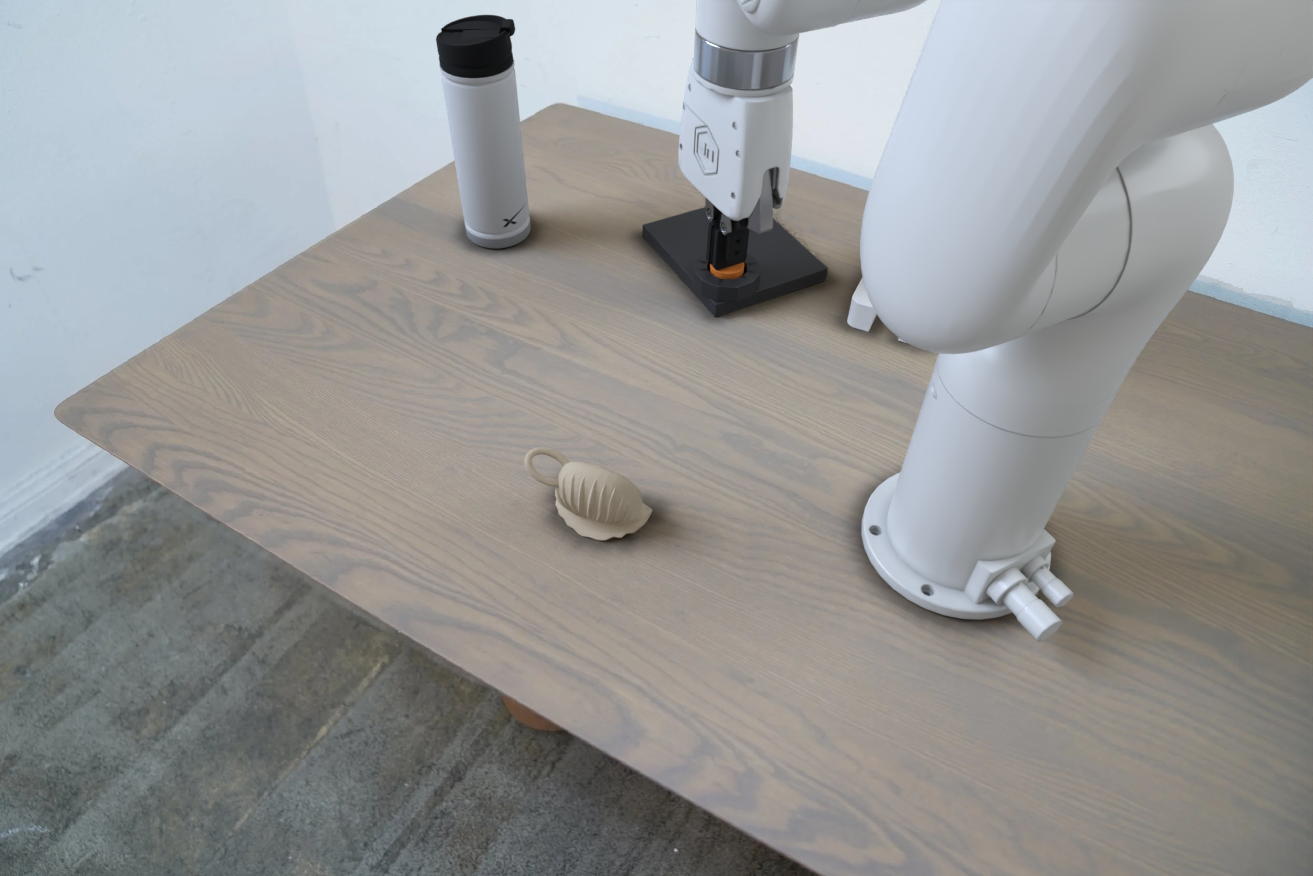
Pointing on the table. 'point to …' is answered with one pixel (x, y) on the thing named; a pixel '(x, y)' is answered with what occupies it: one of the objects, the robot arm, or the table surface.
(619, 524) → the decorative ornament
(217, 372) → the table surface
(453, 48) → the travel mug
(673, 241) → the black flat block
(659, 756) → the table surface
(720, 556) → the table surface
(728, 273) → the button
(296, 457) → the table surface
